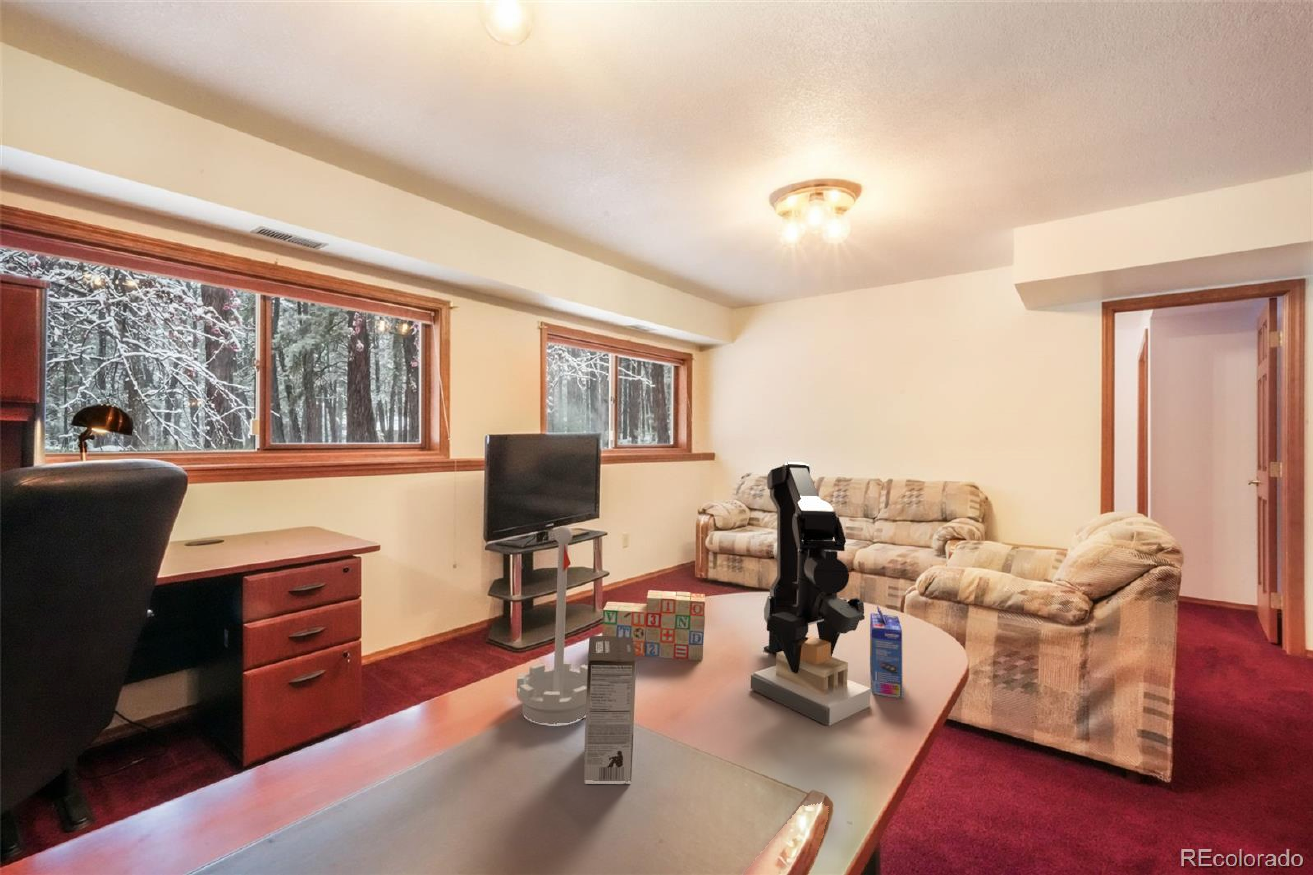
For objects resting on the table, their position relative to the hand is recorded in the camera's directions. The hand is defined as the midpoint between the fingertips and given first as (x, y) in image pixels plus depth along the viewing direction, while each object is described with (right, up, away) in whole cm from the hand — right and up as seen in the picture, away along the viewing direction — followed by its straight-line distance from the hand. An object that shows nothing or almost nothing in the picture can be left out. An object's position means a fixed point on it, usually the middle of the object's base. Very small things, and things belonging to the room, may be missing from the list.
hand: (811, 666), depth 99 cm
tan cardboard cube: (0, +2, 0) cm, 2 cm away
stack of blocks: (-28, -5, +20) cm, 35 cm away
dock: (0, -5, 0) cm, 5 cm away
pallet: (0, -2, 0) cm, 2 cm away
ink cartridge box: (+15, -6, +6) cm, 18 cm away
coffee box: (-34, -4, -23) cm, 41 cm away
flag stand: (-44, -4, -8) cm, 45 cm away
